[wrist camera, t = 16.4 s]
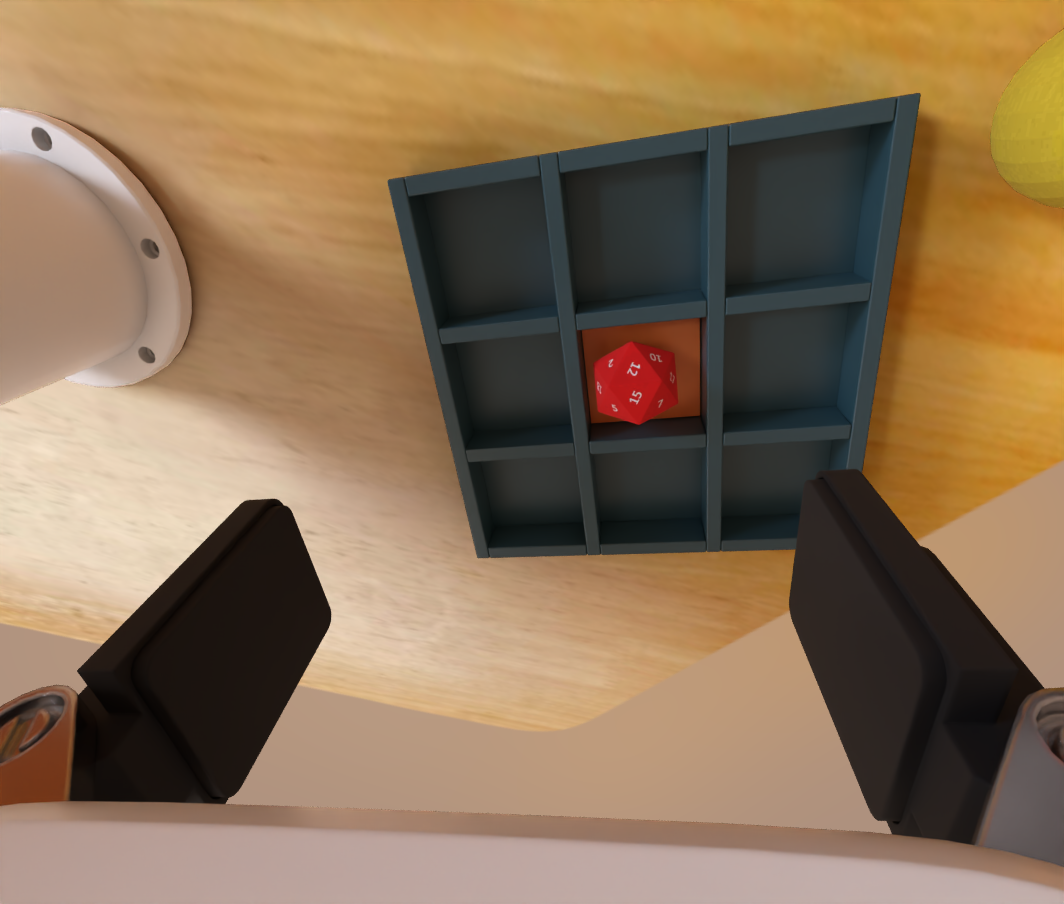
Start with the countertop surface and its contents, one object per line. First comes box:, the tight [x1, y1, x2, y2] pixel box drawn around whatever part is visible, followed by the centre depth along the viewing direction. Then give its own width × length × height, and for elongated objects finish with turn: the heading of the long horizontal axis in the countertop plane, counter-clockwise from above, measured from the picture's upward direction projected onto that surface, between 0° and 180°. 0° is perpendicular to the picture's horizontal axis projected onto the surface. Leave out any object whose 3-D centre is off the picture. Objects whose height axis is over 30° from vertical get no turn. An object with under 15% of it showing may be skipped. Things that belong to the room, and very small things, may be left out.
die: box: [593, 341, 679, 425], centre depth 24 cm, size 4×3×4 cm
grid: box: [388, 93, 921, 558], centre depth 25 cm, size 18×18×2 cm
